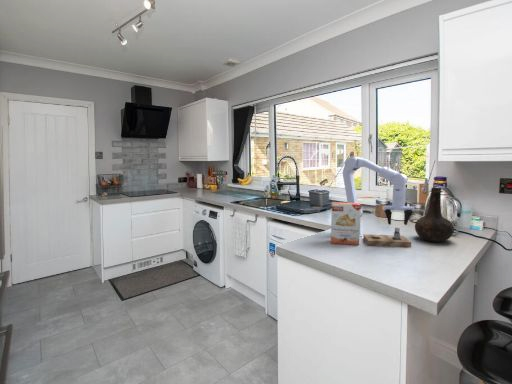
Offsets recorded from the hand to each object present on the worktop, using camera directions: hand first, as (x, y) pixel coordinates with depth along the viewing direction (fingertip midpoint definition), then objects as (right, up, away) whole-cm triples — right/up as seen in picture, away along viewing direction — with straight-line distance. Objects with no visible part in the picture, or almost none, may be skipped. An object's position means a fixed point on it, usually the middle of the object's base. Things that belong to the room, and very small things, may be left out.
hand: (397, 224), depth 147 cm
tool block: (-5, -10, +2) cm, 11 cm away
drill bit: (0, -10, +1) cm, 10 cm away
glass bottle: (+22, -9, +7) cm, 25 cm away
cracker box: (-26, -10, +2) cm, 28 cm away
